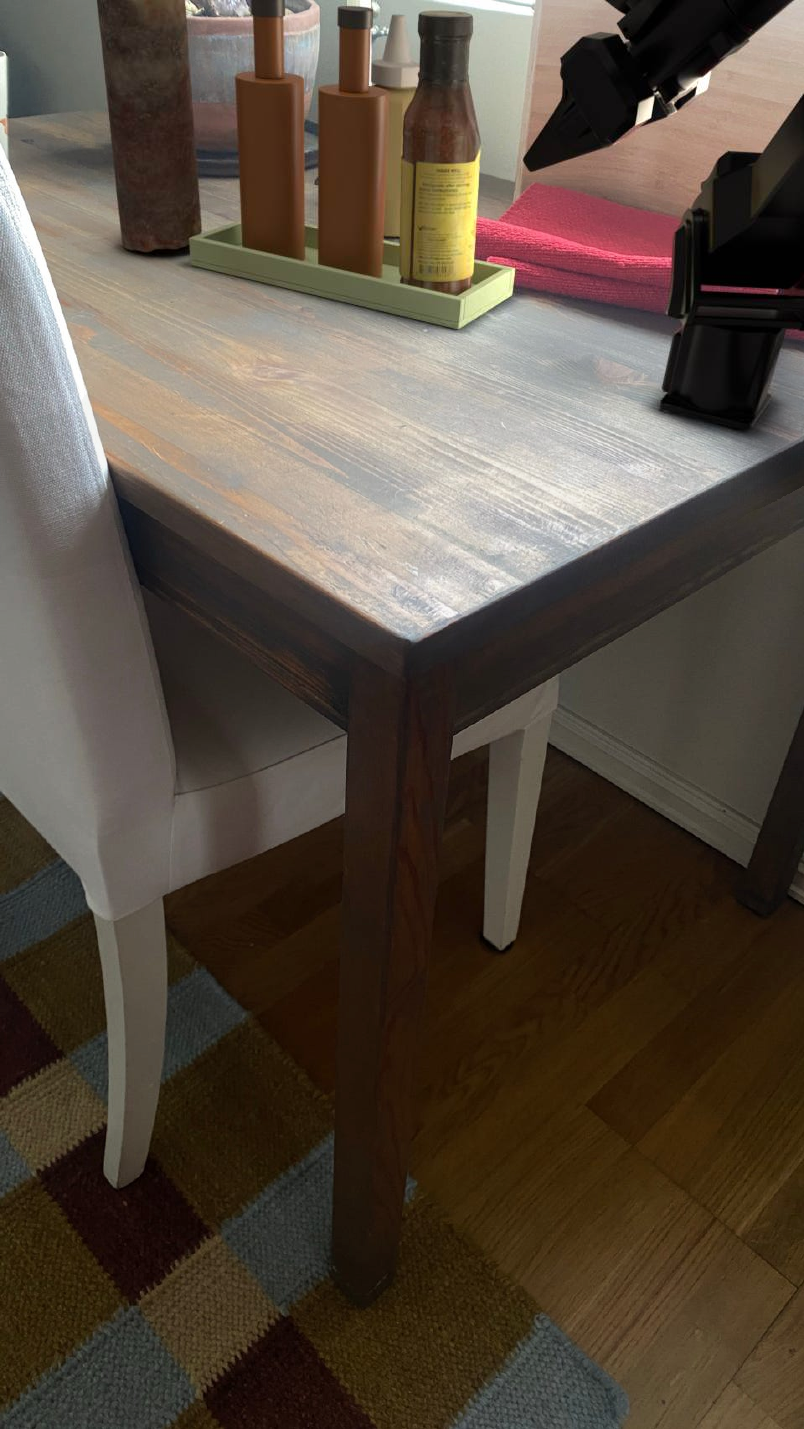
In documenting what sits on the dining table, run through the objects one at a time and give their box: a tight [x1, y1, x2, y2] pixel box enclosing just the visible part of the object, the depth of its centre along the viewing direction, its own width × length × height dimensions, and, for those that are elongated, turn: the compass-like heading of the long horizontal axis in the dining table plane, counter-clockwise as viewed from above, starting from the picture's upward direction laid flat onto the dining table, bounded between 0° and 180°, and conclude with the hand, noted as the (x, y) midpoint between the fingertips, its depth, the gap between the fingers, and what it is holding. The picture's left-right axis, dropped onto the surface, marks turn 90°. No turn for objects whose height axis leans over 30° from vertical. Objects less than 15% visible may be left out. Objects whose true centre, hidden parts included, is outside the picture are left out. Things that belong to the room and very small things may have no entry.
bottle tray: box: [188, 0, 516, 330], centre depth 85 cm, size 27×11×20 cm, turn 61°
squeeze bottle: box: [370, 13, 420, 238], centre depth 98 cm, size 8×8×18 cm
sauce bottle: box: [398, 10, 482, 296], centre depth 82 cm, size 6×6×20 cm
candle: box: [96, 0, 203, 253], centre depth 90 cm, size 8×7×20 cm
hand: (550, 154), depth 78 cm, fingers open, 9 cm apart
